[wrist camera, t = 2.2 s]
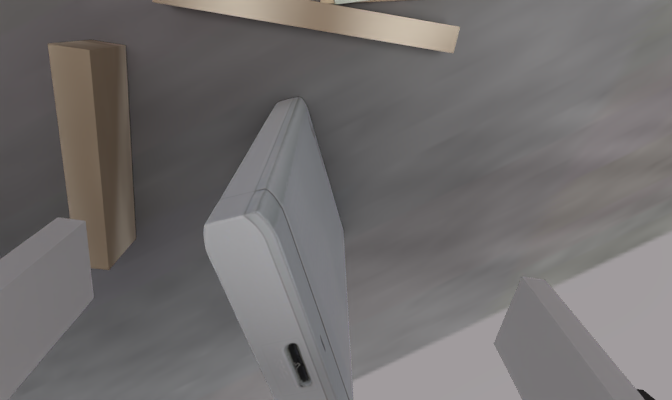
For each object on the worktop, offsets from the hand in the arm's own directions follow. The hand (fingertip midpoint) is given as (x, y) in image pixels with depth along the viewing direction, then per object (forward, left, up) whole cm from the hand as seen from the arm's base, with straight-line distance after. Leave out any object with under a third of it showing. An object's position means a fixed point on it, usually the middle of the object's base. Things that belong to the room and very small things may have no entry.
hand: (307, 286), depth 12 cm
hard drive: (0, 0, -9) cm, 9 cm away
